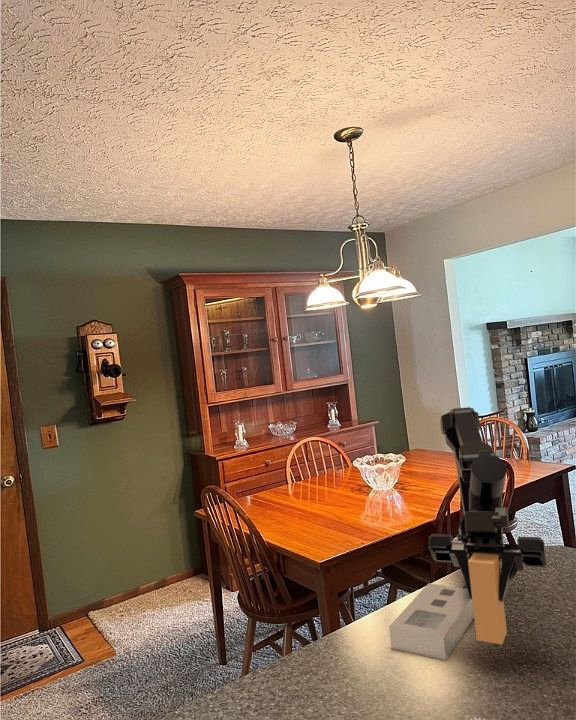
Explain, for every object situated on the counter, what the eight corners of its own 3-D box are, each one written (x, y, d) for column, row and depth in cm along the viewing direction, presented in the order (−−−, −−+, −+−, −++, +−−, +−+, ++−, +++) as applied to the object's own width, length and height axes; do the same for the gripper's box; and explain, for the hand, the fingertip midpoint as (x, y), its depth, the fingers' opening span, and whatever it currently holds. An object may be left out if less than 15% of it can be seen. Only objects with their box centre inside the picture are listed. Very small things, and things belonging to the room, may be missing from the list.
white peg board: (430, 602, 119) (428, 582, 119) (478, 610, 113) (476, 589, 113) (391, 648, 102) (388, 626, 102) (445, 660, 96) (443, 636, 96)
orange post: (482, 628, 96) (474, 552, 96) (507, 632, 94) (498, 554, 94) (476, 640, 93) (468, 561, 93) (502, 644, 91) (493, 563, 91)
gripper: (424, 489, 101) (418, 575, 91) (538, 489, 93) (545, 583, 83) (436, 519, 108) (432, 602, 98) (543, 521, 101) (550, 612, 91)
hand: (486, 599), depth 92 cm, fingers closed on orange post, 4 cm apart
